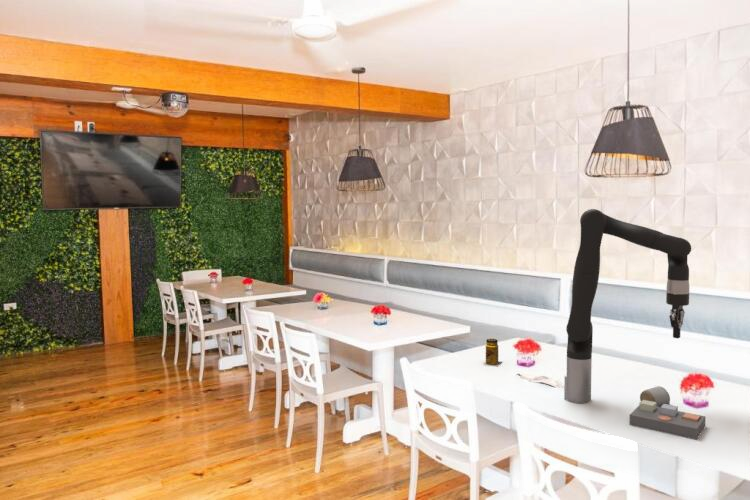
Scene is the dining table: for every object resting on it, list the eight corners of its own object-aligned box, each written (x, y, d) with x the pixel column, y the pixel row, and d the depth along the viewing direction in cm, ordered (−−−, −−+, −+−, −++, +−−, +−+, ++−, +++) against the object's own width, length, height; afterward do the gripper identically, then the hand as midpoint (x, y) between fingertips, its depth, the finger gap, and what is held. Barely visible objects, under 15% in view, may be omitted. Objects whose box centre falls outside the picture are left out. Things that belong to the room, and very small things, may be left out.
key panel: (629, 424, 205) (629, 413, 204) (640, 413, 215) (641, 402, 215) (696, 439, 191) (697, 427, 191) (705, 426, 202) (705, 415, 202)
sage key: (639, 411, 209) (639, 403, 209) (642, 408, 213) (643, 399, 212) (652, 414, 206) (653, 405, 206) (656, 410, 210) (656, 402, 210)
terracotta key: (682, 425, 200) (682, 416, 200) (685, 421, 204) (685, 412, 204) (697, 428, 198) (697, 419, 197) (699, 424, 201) (700, 415, 201)
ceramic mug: (637, 406, 223) (638, 386, 222) (653, 403, 226) (654, 383, 225) (661, 415, 213) (662, 395, 212) (677, 412, 216) (678, 392, 216)
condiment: (482, 364, 283) (482, 340, 282) (488, 360, 290) (488, 336, 289) (497, 366, 279) (497, 341, 278) (502, 362, 287) (502, 338, 286)
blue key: (660, 416, 205) (660, 407, 204) (663, 412, 208) (663, 403, 208) (674, 419, 202) (674, 409, 202) (677, 415, 205) (677, 406, 205)
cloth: (576, 388, 248) (577, 382, 248) (552, 393, 242) (552, 387, 241) (533, 372, 271) (533, 367, 271) (510, 376, 265) (510, 372, 264)
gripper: (671, 288, 224) (669, 333, 225) (662, 293, 214) (661, 339, 215) (693, 290, 219) (691, 335, 221) (685, 294, 209) (683, 342, 210)
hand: (676, 337), depth 218 cm, fingers closed
